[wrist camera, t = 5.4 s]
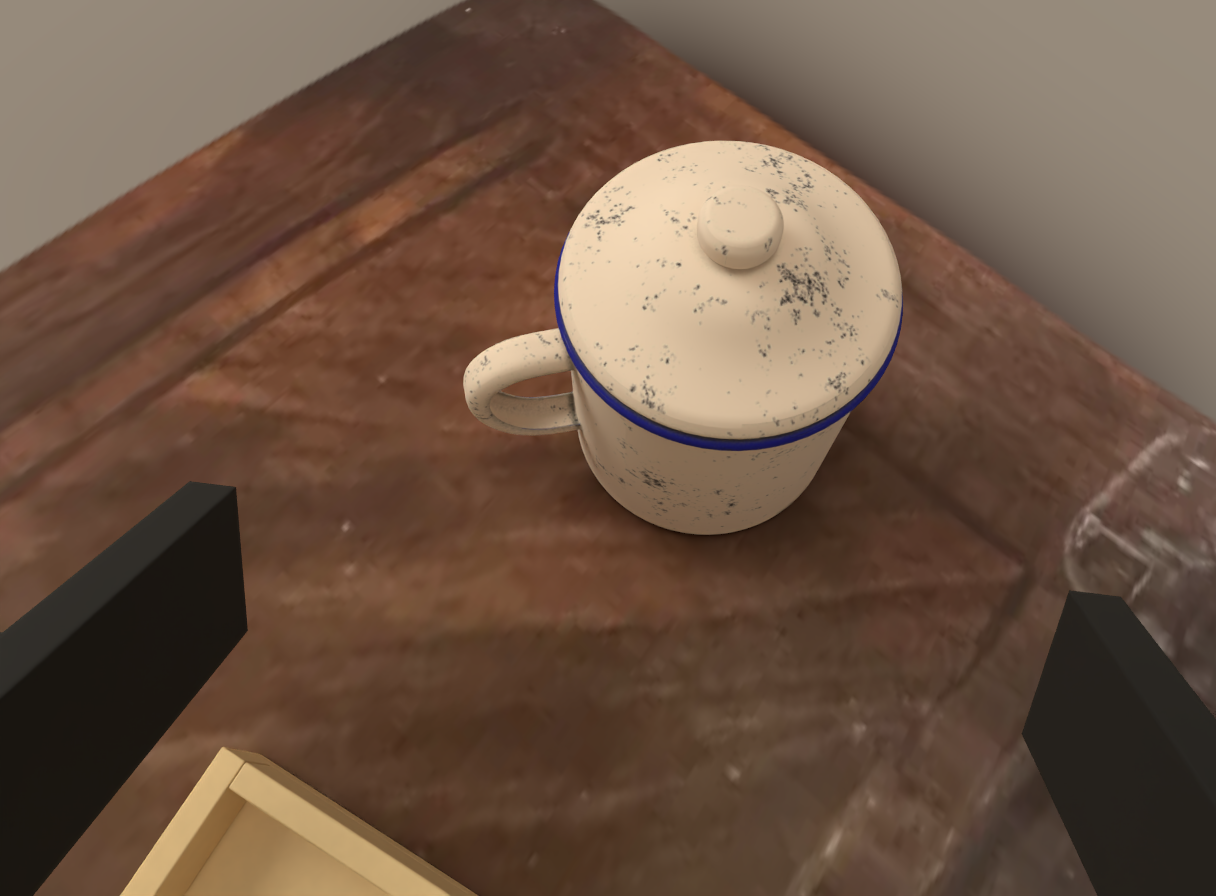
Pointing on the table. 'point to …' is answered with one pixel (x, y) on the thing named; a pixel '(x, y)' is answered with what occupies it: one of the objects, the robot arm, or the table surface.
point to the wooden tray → (276, 843)
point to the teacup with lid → (707, 333)
